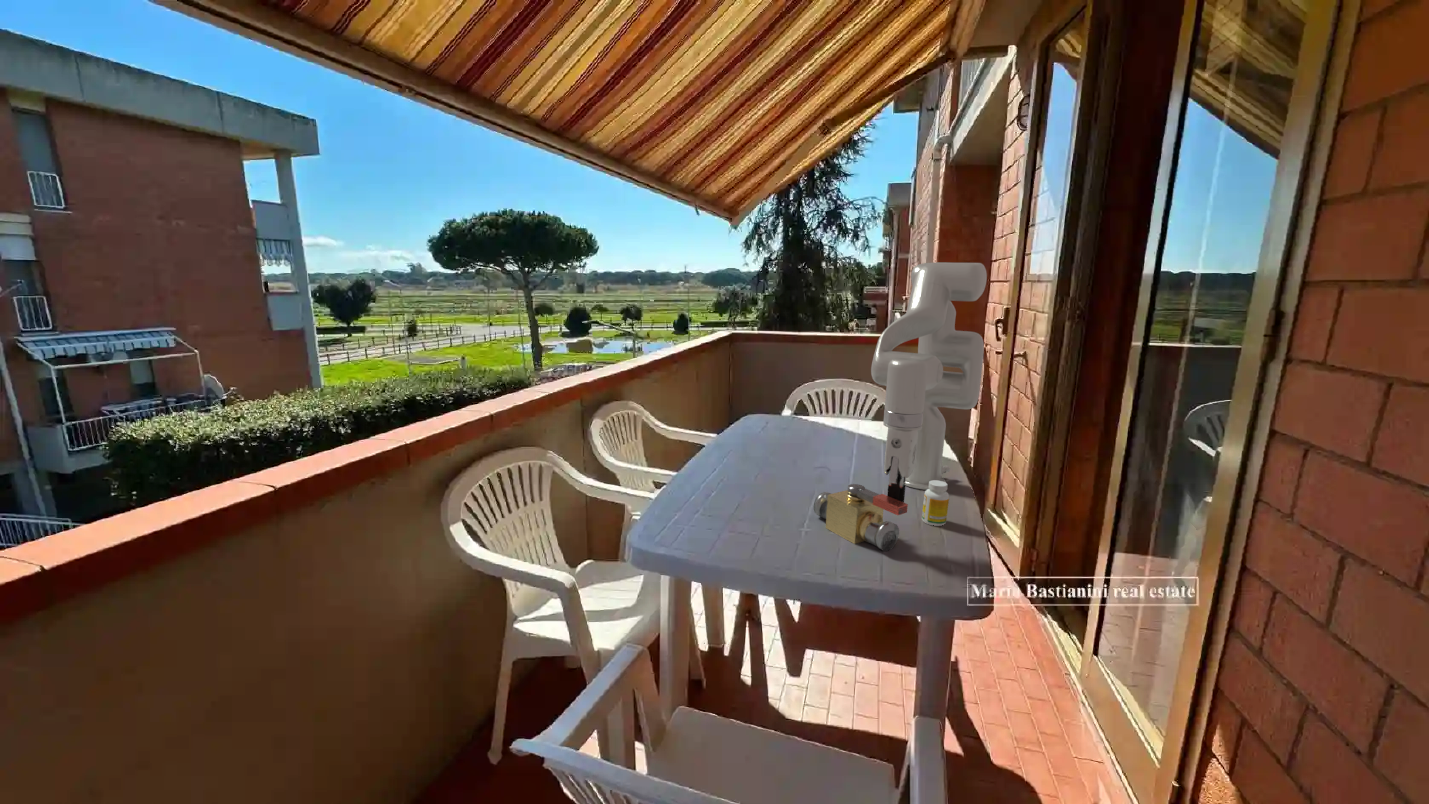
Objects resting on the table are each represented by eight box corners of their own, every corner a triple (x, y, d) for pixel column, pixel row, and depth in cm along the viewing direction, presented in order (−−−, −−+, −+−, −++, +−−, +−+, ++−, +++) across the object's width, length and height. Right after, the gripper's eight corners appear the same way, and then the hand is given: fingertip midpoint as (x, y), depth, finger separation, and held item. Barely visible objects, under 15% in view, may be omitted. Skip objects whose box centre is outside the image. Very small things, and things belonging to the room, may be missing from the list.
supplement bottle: (916, 519, 133) (920, 480, 131) (933, 515, 135) (937, 477, 133) (934, 528, 128) (938, 488, 126) (951, 524, 131) (955, 485, 129)
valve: (809, 519, 132) (811, 483, 130) (835, 512, 136) (837, 477, 134) (874, 554, 115) (877, 514, 113) (901, 546, 119) (904, 507, 117)
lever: (844, 492, 124) (844, 485, 124) (855, 489, 126) (856, 482, 126) (896, 515, 113) (897, 507, 112) (908, 512, 114) (909, 503, 114)
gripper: (915, 430, 107) (907, 520, 111) (928, 413, 119) (919, 495, 124) (875, 424, 110) (868, 512, 114) (891, 409, 123) (885, 488, 127)
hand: (895, 503), depth 119 cm, fingers closed
